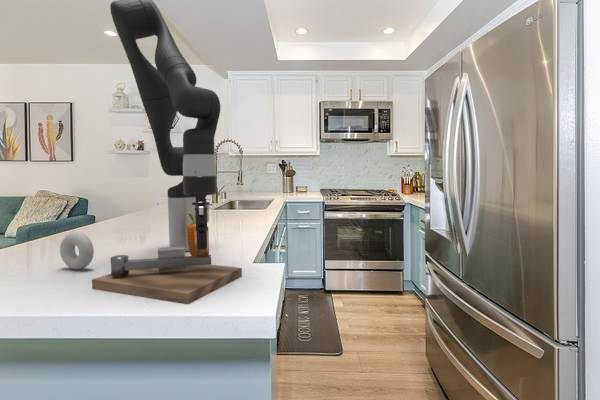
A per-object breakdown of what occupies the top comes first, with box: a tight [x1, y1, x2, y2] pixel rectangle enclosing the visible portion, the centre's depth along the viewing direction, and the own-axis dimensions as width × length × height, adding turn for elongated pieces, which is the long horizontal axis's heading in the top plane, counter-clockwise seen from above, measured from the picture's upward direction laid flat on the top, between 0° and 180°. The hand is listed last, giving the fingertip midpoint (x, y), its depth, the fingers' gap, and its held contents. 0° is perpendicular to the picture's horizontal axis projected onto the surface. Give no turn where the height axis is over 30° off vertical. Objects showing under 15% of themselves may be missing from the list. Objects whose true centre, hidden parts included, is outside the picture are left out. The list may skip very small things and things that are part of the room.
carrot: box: [187, 212, 196, 256], centre depth 102 cm, size 5×5×15 cm
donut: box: [59, 231, 95, 271], centre depth 97 cm, size 10×4×10 cm, turn 71°
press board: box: [91, 246, 243, 304], centre depth 85 cm, size 20×26×7 cm
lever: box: [110, 225, 212, 277], centre depth 85 cm, size 4×22×10 cm, turn 105°
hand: (201, 246), depth 88 cm, fingers open, 4 cm apart
